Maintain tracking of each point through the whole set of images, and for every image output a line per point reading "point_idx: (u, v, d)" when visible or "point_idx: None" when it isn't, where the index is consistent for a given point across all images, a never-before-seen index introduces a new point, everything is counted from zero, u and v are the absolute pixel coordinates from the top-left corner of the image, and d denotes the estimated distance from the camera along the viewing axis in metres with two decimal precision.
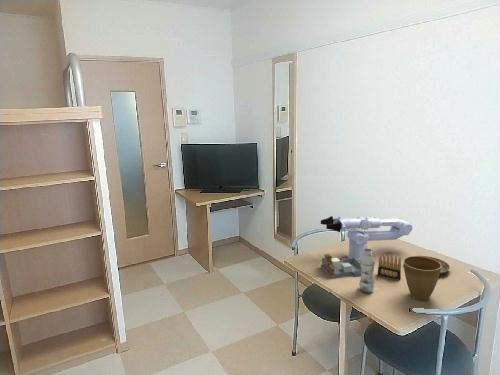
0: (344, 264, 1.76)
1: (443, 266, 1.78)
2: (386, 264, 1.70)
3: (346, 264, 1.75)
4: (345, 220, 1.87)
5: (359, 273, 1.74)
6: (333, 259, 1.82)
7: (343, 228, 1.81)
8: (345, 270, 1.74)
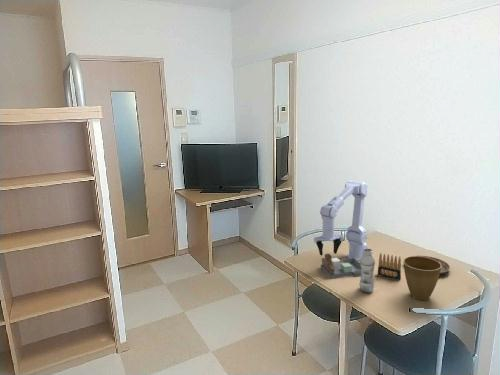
0: (344, 264, 1.76)
1: (443, 266, 1.78)
2: (386, 264, 1.70)
3: (346, 264, 1.75)
4: (333, 233, 1.71)
5: (359, 273, 1.74)
6: (333, 259, 1.82)
7: None
8: (345, 270, 1.74)
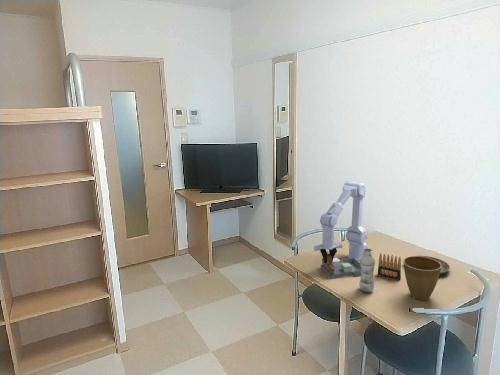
0: (344, 264, 1.76)
1: (443, 266, 1.78)
2: (386, 264, 1.70)
3: (346, 264, 1.75)
4: (332, 242, 1.72)
5: (359, 273, 1.74)
6: (333, 259, 1.82)
7: None
8: (345, 270, 1.74)
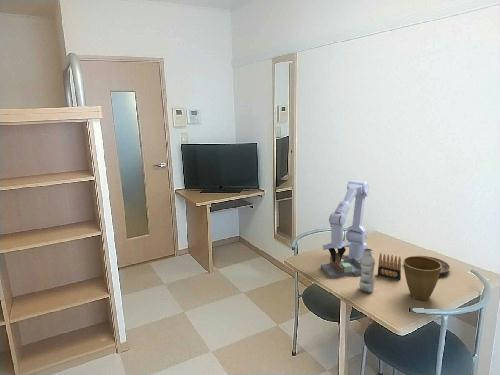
0: (344, 264, 1.76)
1: (443, 266, 1.78)
2: (386, 264, 1.70)
3: (346, 264, 1.75)
4: (341, 241, 1.73)
5: (359, 273, 1.74)
6: None
7: None
8: (345, 270, 1.74)
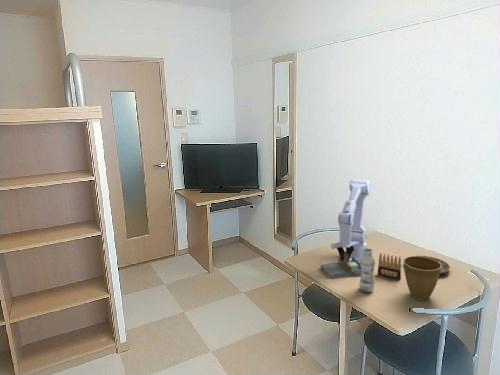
0: (350, 263, 1.76)
1: (443, 266, 1.78)
2: (386, 264, 1.70)
3: (352, 263, 1.76)
4: (350, 240, 1.74)
5: (359, 273, 1.74)
6: None
7: None
8: None
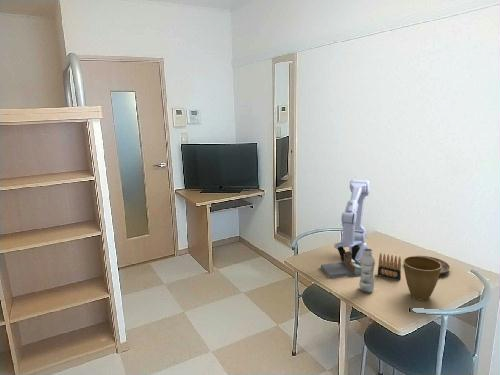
0: (355, 264, 1.77)
1: (443, 266, 1.78)
2: (386, 264, 1.70)
3: (357, 265, 1.77)
4: (353, 239, 1.74)
5: (359, 273, 1.74)
6: None
7: None
8: None
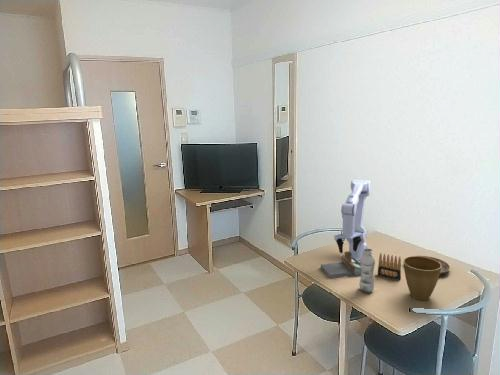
0: (355, 264, 1.77)
1: (443, 266, 1.78)
2: (386, 264, 1.70)
3: (357, 265, 1.77)
4: (353, 231, 1.73)
5: (359, 273, 1.74)
6: None
7: None
8: None
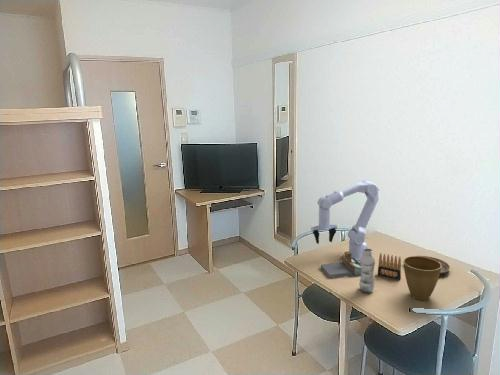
0: (355, 264, 1.77)
1: (443, 266, 1.78)
2: (386, 264, 1.70)
3: (357, 265, 1.77)
4: (328, 223, 1.86)
5: (359, 273, 1.74)
6: None
7: None
8: None
